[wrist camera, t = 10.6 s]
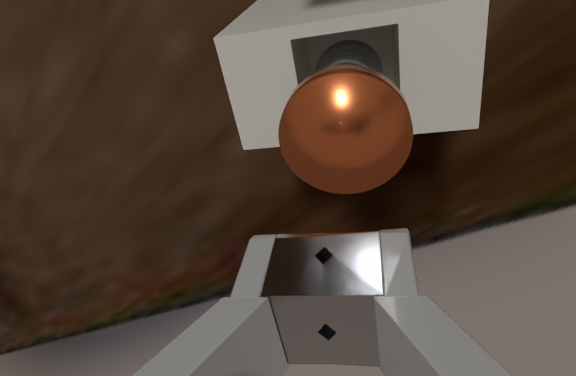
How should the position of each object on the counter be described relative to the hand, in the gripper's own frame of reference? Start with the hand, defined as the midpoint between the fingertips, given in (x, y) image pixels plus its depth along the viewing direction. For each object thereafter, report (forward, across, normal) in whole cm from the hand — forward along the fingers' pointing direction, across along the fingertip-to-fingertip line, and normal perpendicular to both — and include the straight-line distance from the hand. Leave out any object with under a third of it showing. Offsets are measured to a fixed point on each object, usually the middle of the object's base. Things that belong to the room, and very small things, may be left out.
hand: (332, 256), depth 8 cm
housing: (+19, 0, 0) cm, 19 cm away
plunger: (+11, 0, 0) cm, 11 cm away
